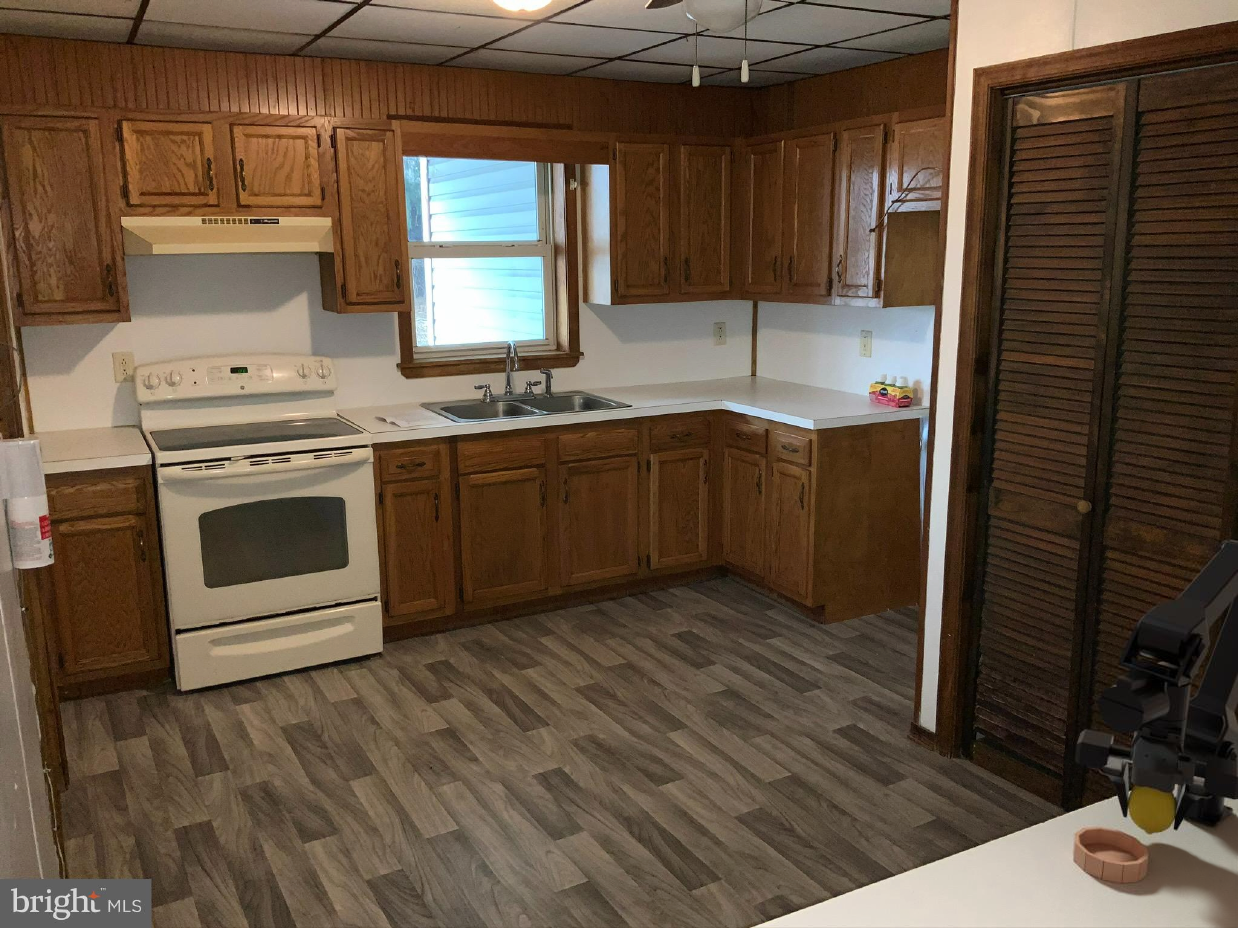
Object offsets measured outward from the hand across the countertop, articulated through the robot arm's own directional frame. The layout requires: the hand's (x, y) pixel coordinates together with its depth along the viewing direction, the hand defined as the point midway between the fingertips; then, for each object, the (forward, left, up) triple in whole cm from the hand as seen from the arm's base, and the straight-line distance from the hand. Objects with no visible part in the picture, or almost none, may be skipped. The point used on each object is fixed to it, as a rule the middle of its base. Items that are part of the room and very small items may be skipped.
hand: (1150, 822), depth 132 cm
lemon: (0, 0, -2) cm, 2 cm away
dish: (+9, -1, -3) cm, 9 cm away
